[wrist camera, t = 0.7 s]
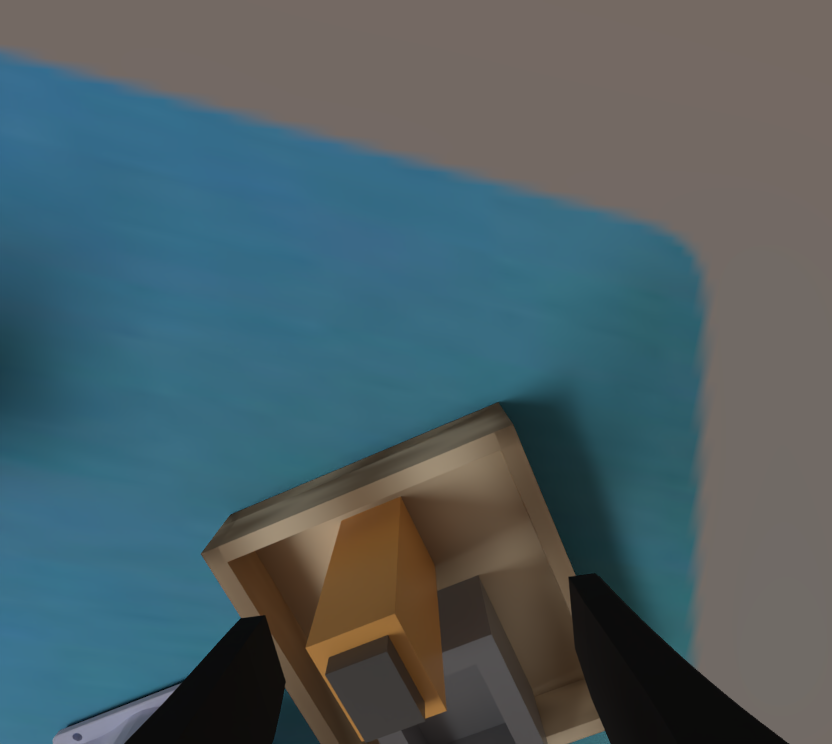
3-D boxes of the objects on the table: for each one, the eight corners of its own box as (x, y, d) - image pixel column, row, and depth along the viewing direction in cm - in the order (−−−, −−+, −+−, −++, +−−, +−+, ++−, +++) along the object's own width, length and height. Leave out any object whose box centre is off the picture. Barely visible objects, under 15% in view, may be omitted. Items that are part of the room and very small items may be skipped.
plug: (378, 588, 21) (359, 761, 13) (341, 520, 20) (300, 665, 13) (435, 565, 21) (448, 730, 13) (400, 496, 20) (394, 629, 12)
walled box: (370, 749, 24) (364, 813, 21) (230, 514, 21) (200, 553, 18) (606, 663, 23) (635, 720, 20) (498, 402, 20) (512, 424, 17)
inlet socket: (418, 730, 23) (419, 810, 19) (357, 621, 21) (347, 688, 18) (532, 689, 22) (553, 764, 19) (478, 575, 21) (491, 634, 17)
